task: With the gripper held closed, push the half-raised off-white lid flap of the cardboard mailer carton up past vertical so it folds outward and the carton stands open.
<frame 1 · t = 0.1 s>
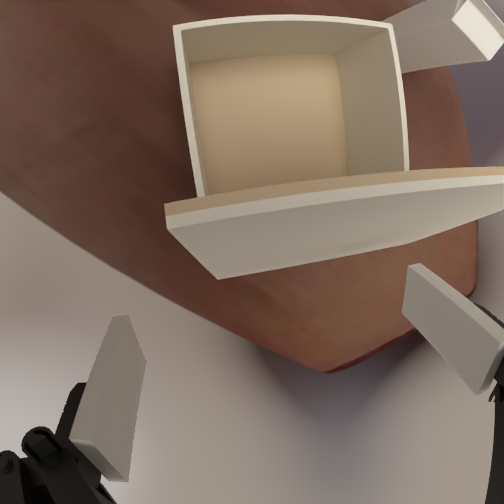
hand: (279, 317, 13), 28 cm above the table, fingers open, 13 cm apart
milk: (384, 49, 34), on the table
carton: (275, 133, 37), on the table
flap: (367, 235, 18), point 23 cm above the table, hinge at 60.0°
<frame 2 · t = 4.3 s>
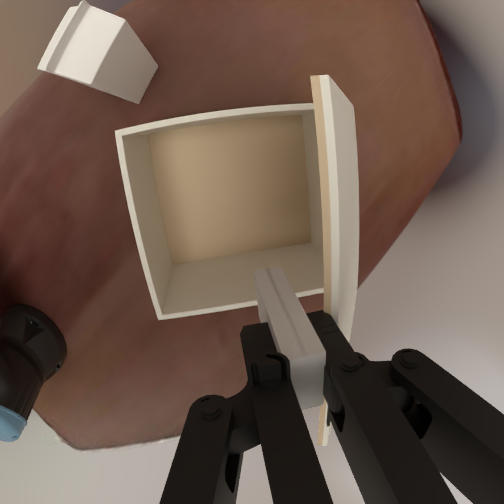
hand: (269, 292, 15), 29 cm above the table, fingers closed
milk: (130, 78, 34), on the table
carton: (233, 189, 42), on the table
flap: (349, 237, 21), point 24 cm above the table, hinge at 61.0°, touching gripper
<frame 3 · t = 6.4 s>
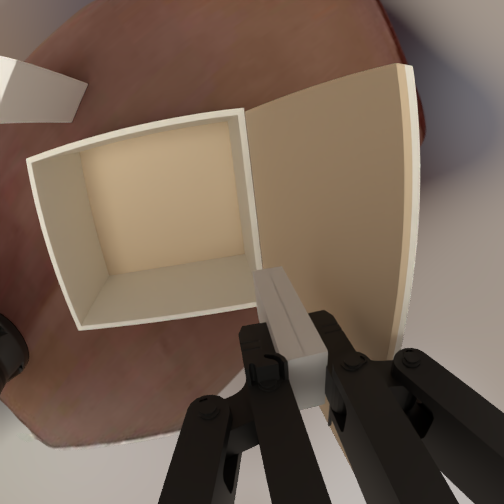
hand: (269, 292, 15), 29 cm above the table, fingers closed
milk: (64, 98, 33), on the table
carton: (161, 201, 41), on the table
flap: (298, 255, 19), point 25 cm above the table, hinge at 93.9°, touching gripper
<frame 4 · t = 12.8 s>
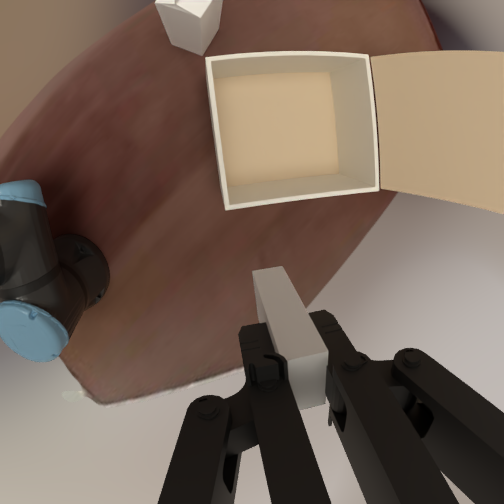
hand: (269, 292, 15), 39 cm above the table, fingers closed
milk: (195, 36, 42), on the table
carton: (277, 125, 49), on the table
flap: (446, 125, 29), point 23 cm above the table, hinge at 118.0°
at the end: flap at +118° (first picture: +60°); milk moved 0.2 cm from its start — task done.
